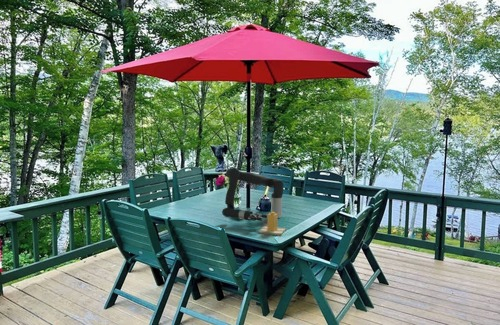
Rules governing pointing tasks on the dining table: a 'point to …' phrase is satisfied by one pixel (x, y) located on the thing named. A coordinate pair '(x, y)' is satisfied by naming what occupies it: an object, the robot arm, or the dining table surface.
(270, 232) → the beige board with knob
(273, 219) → the tall orange toy brick
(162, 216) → the dining table surface
